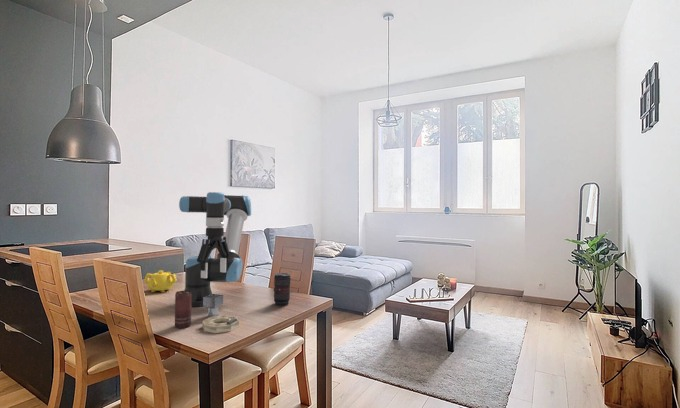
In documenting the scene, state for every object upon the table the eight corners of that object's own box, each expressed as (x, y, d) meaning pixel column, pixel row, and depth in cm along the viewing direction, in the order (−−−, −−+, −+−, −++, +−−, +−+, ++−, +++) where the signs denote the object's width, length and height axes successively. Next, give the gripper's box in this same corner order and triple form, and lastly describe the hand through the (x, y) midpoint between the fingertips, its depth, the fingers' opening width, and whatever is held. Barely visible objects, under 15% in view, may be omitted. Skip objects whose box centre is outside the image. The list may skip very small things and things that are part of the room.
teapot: (167, 295, 191) (167, 274, 191) (134, 294, 192) (134, 273, 191) (184, 286, 211) (184, 267, 211) (154, 286, 212) (154, 267, 211)
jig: (195, 330, 143) (196, 322, 143) (216, 319, 156) (216, 312, 156) (225, 334, 139) (225, 326, 139) (244, 323, 152) (244, 315, 152)
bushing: (202, 317, 158) (203, 297, 158) (211, 313, 164) (211, 293, 164) (214, 319, 156) (214, 298, 156) (222, 314, 162) (223, 295, 162)
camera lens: (286, 307, 176) (287, 276, 176) (271, 305, 178) (271, 275, 178) (292, 302, 184) (292, 273, 184) (277, 301, 186) (277, 272, 186)
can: (177, 323, 150) (177, 289, 150) (192, 323, 150) (193, 289, 150) (171, 328, 144) (172, 293, 143) (188, 328, 144) (188, 293, 144)
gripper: (203, 229, 147) (202, 281, 147) (238, 225, 171) (237, 270, 171) (188, 228, 149) (187, 279, 149) (224, 225, 173) (223, 269, 173)
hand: (213, 275), depth 160 cm, fingers open, 13 cm apart
